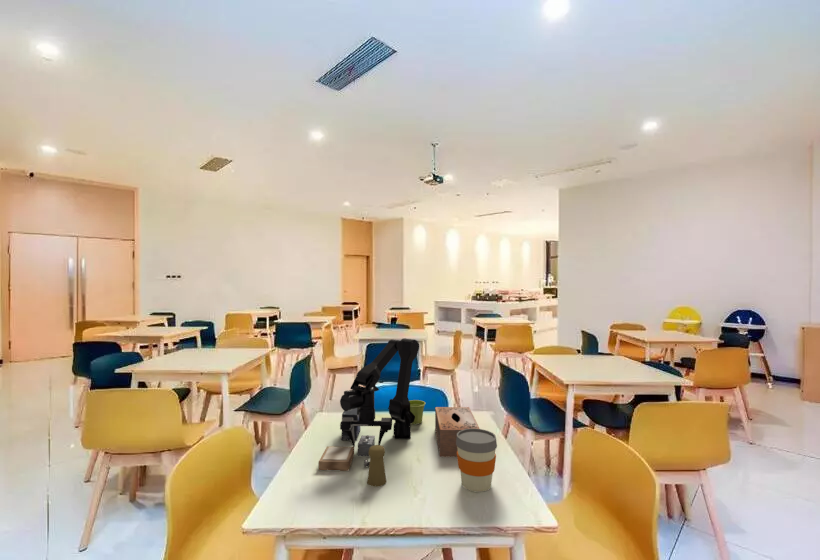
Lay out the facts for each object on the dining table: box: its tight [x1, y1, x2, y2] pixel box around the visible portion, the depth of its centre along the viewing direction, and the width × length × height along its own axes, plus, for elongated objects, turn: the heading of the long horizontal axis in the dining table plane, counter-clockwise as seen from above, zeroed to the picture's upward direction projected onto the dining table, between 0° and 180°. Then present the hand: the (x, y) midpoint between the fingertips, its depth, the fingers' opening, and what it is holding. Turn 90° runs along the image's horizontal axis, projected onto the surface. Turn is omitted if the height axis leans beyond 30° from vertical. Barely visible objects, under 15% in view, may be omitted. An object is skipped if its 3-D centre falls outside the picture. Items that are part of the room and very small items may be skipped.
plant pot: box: [409, 399, 426, 425], centre depth 175 cm, size 9×9×9 cm
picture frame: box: [318, 445, 355, 472], centre depth 135 cm, size 10×12×3 cm
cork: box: [366, 444, 387, 488], centre depth 122 cm, size 6×6×11 cm
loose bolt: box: [363, 459, 370, 468], centre depth 133 cm, size 6×2×2 cm, turn 109°
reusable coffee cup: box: [456, 428, 498, 493], centre depth 121 cm, size 13×13×15 cm
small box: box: [340, 408, 361, 442], centre depth 159 cm, size 11×6×10 cm, turn 179°
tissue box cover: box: [434, 406, 481, 458], centre depth 153 cm, size 26×14×10 cm, turn 0°
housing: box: [357, 434, 376, 457], centre depth 144 cm, size 5×8×5 cm, turn 177°
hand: (366, 446), depth 144 cm, fingers open, 9 cm apart
